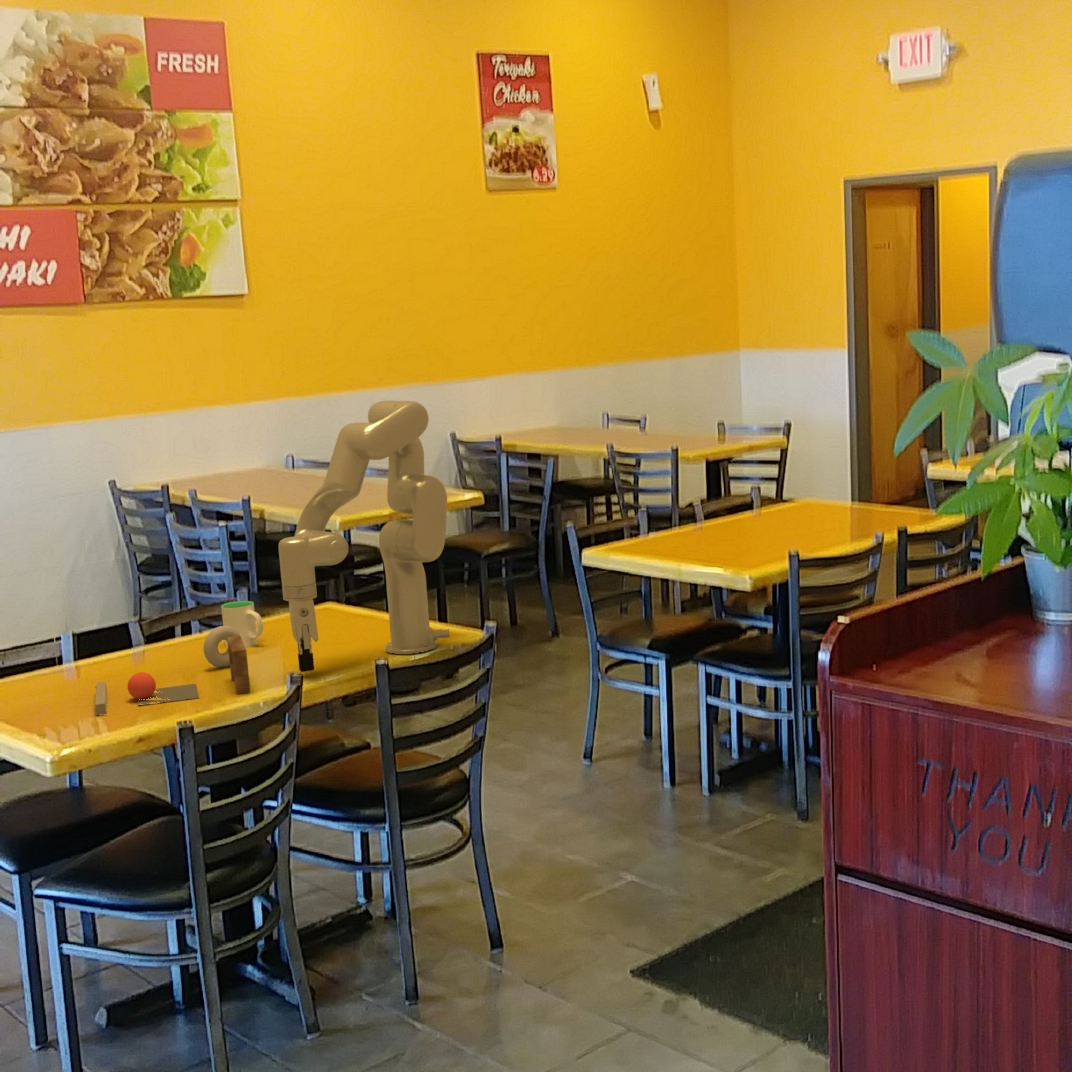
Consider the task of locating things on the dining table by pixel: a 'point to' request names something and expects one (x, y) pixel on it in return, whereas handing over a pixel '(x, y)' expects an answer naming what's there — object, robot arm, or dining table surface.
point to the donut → (213, 642)
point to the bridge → (238, 664)
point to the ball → (141, 685)
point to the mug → (243, 621)
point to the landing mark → (173, 694)
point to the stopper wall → (101, 698)
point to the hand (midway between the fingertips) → (306, 670)
